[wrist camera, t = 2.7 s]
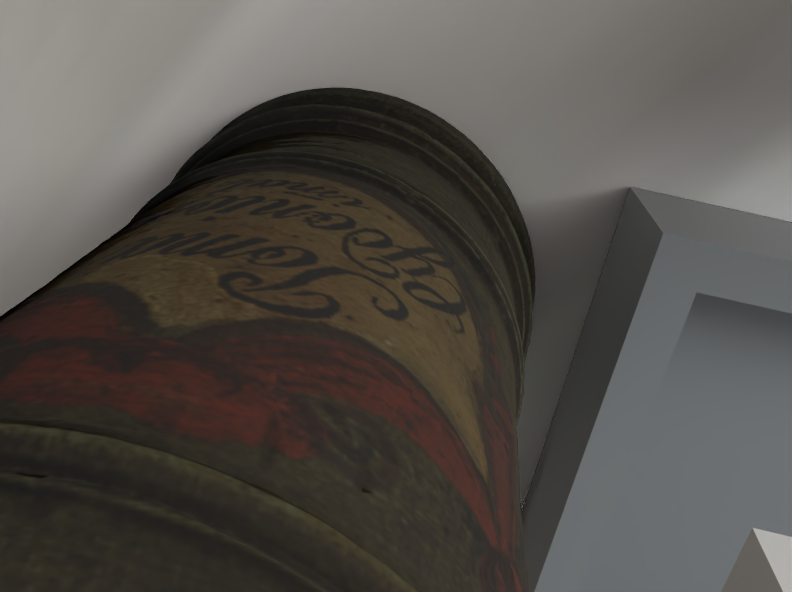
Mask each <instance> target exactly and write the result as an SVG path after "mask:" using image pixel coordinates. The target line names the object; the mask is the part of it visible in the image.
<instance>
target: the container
mask: <svg viewBox="0 0 792 592" xmlns="http://www.w3.org/2000/svg"><path fill="white" fill-rule="evenodd" d="M534 295H535V271H534V260H533V254H532V247H531V242H530V238H529V235H528V231H527V228H526V225H525V222H524V219H523V217H522V214H521V212H520V210H519V207H518V205H517V203H516V200H515V198H514V196H513V194H512V193H511V191H510V189H509V187H508V186H507V184H506V182H505V181H504V179H503V178H502V176H501V175H500V173H499V172H498V170H497V169H496V168H495V166H494V165H493V164H492V163H491V162H490V160H489V159H488V158H487V157H486V156H485V155H484V154H483V153H482V152H481V150H480V149H479V148H478V147H477V146H476V145H475V144H474V143H473V142H472V141H471V140H469V139H468V138H467V137H466V136H465V135H464V134H462V133H461V132H460V131H458V130H457V129H456V128H455V127H453V126H452V125H450V124H449V123H448V122H446V121H445V120H443V119H442V118H440V117H438V116H437V115H435V114H433V113H432V112H430V111H428V110H426V109H424V108H422V107H420V106H417V105H415V104H413V103H410V102H408V101H405V100H403V99H400V98H397V97H393V96H390V95H386V94H382V93H378V92H373V91H366V90H361V89H352V88H321V89H311V90H304V91H299V92H295V93H291V94H287V95H283V96H280V97H277V98H274V99H272V100H269V101H267V102H265V103H262V104H260V105H258V106H256V107H254V108H252V109H250V110H249V111H247V112H245V113H243V114H242V115H240V116H239V117H237V118H236V119H234V120H233V121H232V122H230V123H229V124H228V125H226V126H225V127H224V128H223V129H222V130H221V131H219V132H218V133H217V134H216V135H215V136H214V137H213V138H212V139H211V140H210V141H209V142H208V143H207V144H205V145H204V146H203V147H201V148H200V149H199V150H198V151H197V152H196V153H195V154H194V155H193V156H192V157H191V158H190V159H189V160H188V161H187V162H186V163H185V164H184V165H183V166H182V167H181V169H180V170H179V171H178V173H177V174H176V176H175V177H174V179H173V180H172V182H171V183H170V185H168V186H167V187H166V188H165V189H163V190H162V191H161V192H159V193H158V194H157V195H156V196H154V197H153V198H152V199H151V200H150V201H149V202H148V203H147V204H146V205H145V206H144V207H143V208H142V209H141V210H140V211H139V212H138V213H137V214H136V215H135V216H134V218H133V219H132V220H131V221H130V223H129V224H128V225H126V226H125V227H124V228H122V229H121V230H120V231H118V232H117V233H116V234H114V235H113V236H111V237H110V238H109V239H107V240H106V241H104V242H103V243H101V244H100V245H99V246H98V247H96V248H95V249H94V250H92V251H91V252H90V253H88V254H87V255H85V256H84V257H82V258H81V259H80V260H78V261H77V262H76V263H74V264H73V265H72V266H70V267H69V268H68V269H66V270H65V271H63V272H62V273H60V274H59V275H58V276H57V277H55V278H54V279H53V280H52V281H50V282H49V283H48V284H46V285H45V286H43V287H42V288H40V289H39V290H37V291H36V292H34V293H33V294H32V295H30V296H29V297H27V298H26V299H25V300H24V301H22V302H21V303H19V304H18V305H16V306H15V307H13V308H12V309H10V310H9V311H7V312H6V313H5V314H3V315H2V316H0V592H529V588H528V574H527V565H526V554H525V546H524V536H523V529H522V518H521V506H520V491H519V462H518V445H517V432H516V425H517V422H518V419H519V415H520V410H521V404H522V398H523V391H524V361H525V357H526V354H527V350H528V346H529V341H530V335H531V329H532V310H533V305H534Z"/></svg>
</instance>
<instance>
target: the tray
mask: <svg viewBox="0 0 792 592" xmlns="http://www.w3.org/2000/svg"><path fill="white" fill-rule="evenodd" d="M521 518H522V529H523V536H524V546H525V554H526V565H527V574H528V588H529V592H721V591H722V589H723V587H724V585H725V583H726V581H727V579H728V577H729V575H730V573H731V570H732V568H733V566H734V564H735V562H736V560H737V558H738V556H739V554H740V552H741V550H742V548H743V546H744V544H745V542H746V540H747V538H748V536H749V534H750V532H751V530H752V528H756V529H760V530H764V531H769V532H773V533H777V534H781V535H785V536H790V537H792V222H787V221H783V220H778V219H774V218H769V217H765V216H760V215H756V214H751V213H747V212H742V211H738V210H733V209H729V208H724V207H720V206H715V205H710V204H706V203H701V202H697V201H692V200H688V199H683V198H679V197H674V196H670V195H665V194H661V193H656V192H652V191H647V190H642V189H638V188H633V187H630V189H629V192H628V195H627V198H626V201H625V204H624V207H623V210H622V213H621V216H620V219H619V222H618V225H617V228H616V231H615V234H614V237H613V240H612V243H611V246H610V249H609V252H608V255H607V258H606V261H605V264H604V267H603V270H602V273H601V276H600V279H599V282H598V285H597V288H596V291H595V294H594V297H593V300H592V303H591V306H590V309H589V312H588V315H587V318H586V321H585V324H584V327H583V330H582V333H581V336H580V339H579V342H578V345H577V349H576V352H575V355H574V358H573V361H572V364H571V367H570V370H569V373H568V376H567V379H566V382H565V385H564V388H563V391H562V394H561V397H560V400H559V403H558V406H557V409H556V412H555V415H554V418H553V421H552V424H551V427H550V430H549V433H548V436H547V439H546V442H545V445H544V448H543V451H542V454H541V457H540V460H539V463H538V466H537V469H536V472H535V475H534V478H533V481H532V484H531V487H530V490H529V493H528V496H527V499H526V502H525V505H524V508H523V511H522V514H521Z"/></svg>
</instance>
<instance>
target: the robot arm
mask: <svg viewBox="0 0 792 592" xmlns="http://www.w3.org/2000/svg"><path fill="white" fill-rule="evenodd" d="M721 592H792V537H790V536H785V535H781V534H777V533H773V532H769V531H764V530H760V529H756V528H752V530H751V532H750V534H749V536H748V538H747V540H746V542H745V544H744V546H743V548H742V550H741V552H740V554H739V556H738V558H737V560H736V562H735V564H734V566H733V568H732V570H731V573H730V575H729V577H728V579H727V581H726V583H725V585H724V587H723V589H722V591H721Z"/></svg>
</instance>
